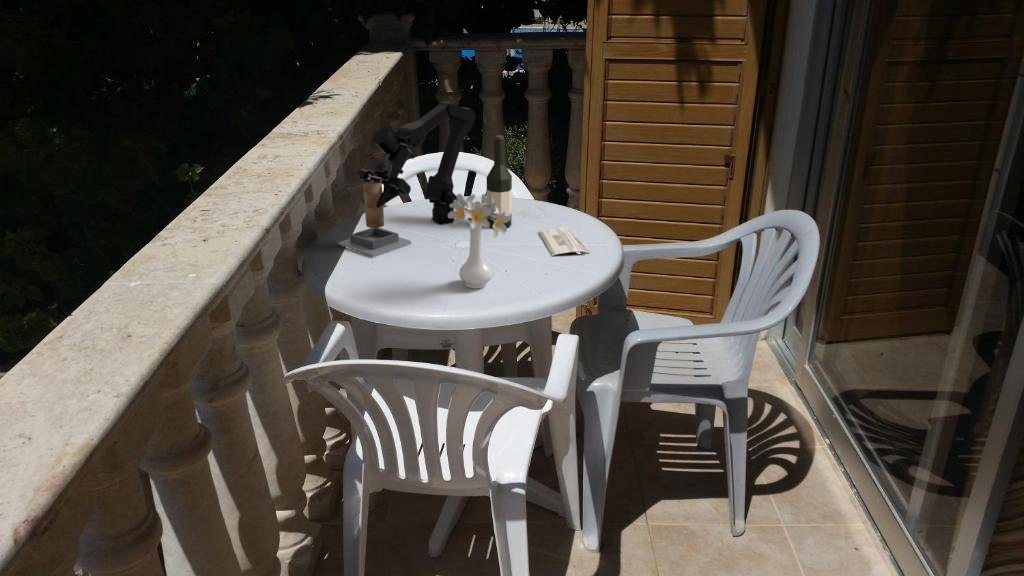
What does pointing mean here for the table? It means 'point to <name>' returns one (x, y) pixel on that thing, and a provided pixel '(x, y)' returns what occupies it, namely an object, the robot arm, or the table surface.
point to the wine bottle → (500, 182)
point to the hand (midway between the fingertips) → (370, 205)
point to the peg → (373, 204)
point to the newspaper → (562, 241)
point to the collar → (374, 241)
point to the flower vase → (477, 236)
